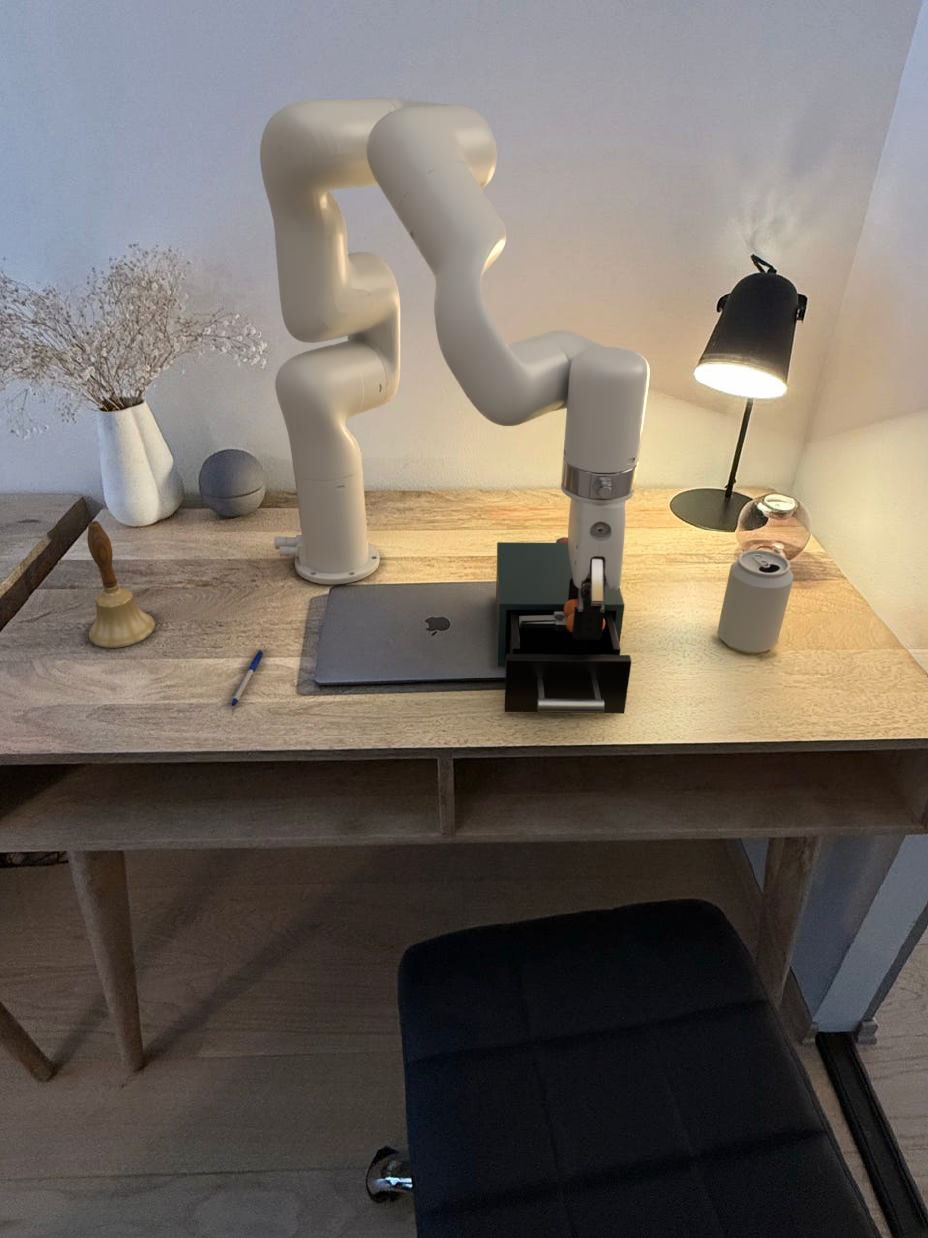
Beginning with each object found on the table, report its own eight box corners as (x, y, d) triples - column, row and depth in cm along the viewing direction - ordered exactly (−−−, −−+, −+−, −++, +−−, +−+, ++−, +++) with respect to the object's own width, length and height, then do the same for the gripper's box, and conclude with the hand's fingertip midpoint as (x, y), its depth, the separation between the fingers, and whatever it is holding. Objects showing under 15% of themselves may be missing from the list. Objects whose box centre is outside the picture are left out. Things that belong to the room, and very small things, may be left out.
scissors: (599, 612, 96) (601, 595, 95) (605, 638, 92) (607, 620, 91) (518, 611, 96) (519, 594, 95) (520, 637, 92) (521, 619, 91)
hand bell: (168, 619, 111) (142, 512, 103) (128, 653, 105) (97, 542, 96) (117, 608, 114) (87, 503, 105) (75, 641, 107) (40, 532, 98)
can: (744, 663, 103) (763, 581, 96) (704, 633, 108) (719, 553, 102) (788, 647, 106) (810, 566, 99) (747, 618, 111) (764, 540, 105)
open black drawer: (630, 743, 89) (638, 689, 85) (505, 741, 90) (507, 688, 86) (608, 642, 105) (614, 592, 101) (501, 641, 105) (503, 591, 101)
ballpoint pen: (257, 654, 105) (256, 647, 105) (264, 654, 105) (262, 648, 104) (231, 706, 96) (229, 700, 96) (238, 707, 96) (237, 700, 96)
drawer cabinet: (616, 667, 102) (624, 604, 97) (497, 666, 102) (499, 603, 97) (601, 601, 115) (608, 542, 110) (495, 600, 115) (497, 541, 110)
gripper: (649, 513, 77) (627, 669, 87) (623, 444, 91) (607, 584, 101) (569, 513, 77) (556, 668, 87) (555, 443, 91) (546, 583, 101)
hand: (583, 621), depth 94 cm, fingers closed on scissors, 5 cm apart
